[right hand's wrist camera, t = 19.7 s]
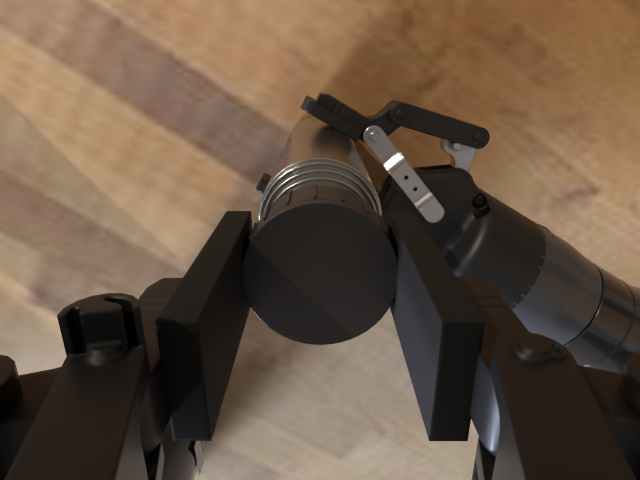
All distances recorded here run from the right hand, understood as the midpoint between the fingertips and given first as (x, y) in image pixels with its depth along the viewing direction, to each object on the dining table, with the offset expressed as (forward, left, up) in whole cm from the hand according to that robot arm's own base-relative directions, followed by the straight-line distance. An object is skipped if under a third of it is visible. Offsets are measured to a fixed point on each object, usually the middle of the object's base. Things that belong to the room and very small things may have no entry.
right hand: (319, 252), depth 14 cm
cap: (0, 0, +2) cm, 2 cm away
